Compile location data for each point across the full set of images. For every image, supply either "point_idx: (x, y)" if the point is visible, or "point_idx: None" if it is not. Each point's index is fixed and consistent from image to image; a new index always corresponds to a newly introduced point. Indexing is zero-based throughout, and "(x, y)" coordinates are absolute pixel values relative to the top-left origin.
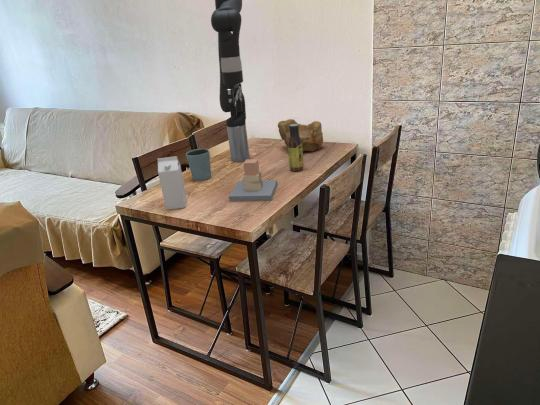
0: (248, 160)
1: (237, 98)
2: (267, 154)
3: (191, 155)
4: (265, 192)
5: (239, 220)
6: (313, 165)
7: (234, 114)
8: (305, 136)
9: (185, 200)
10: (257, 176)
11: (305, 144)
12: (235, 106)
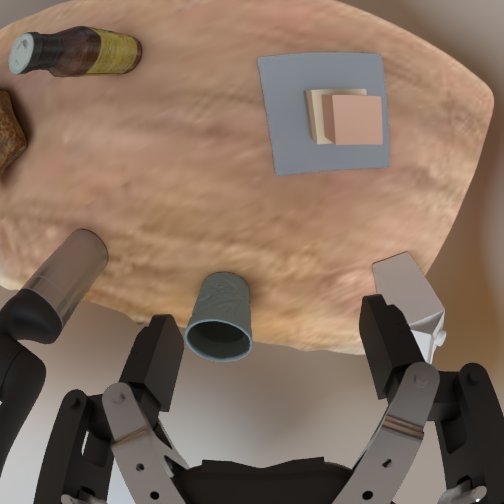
0: (350, 131)
1: (379, 445)
2: (43, 198)
3: (213, 348)
4: (362, 70)
5: (466, 118)
6: None
7: (399, 311)
8: None
9: (392, 262)
10: (365, 91)
11: (4, 106)
12: (409, 363)
